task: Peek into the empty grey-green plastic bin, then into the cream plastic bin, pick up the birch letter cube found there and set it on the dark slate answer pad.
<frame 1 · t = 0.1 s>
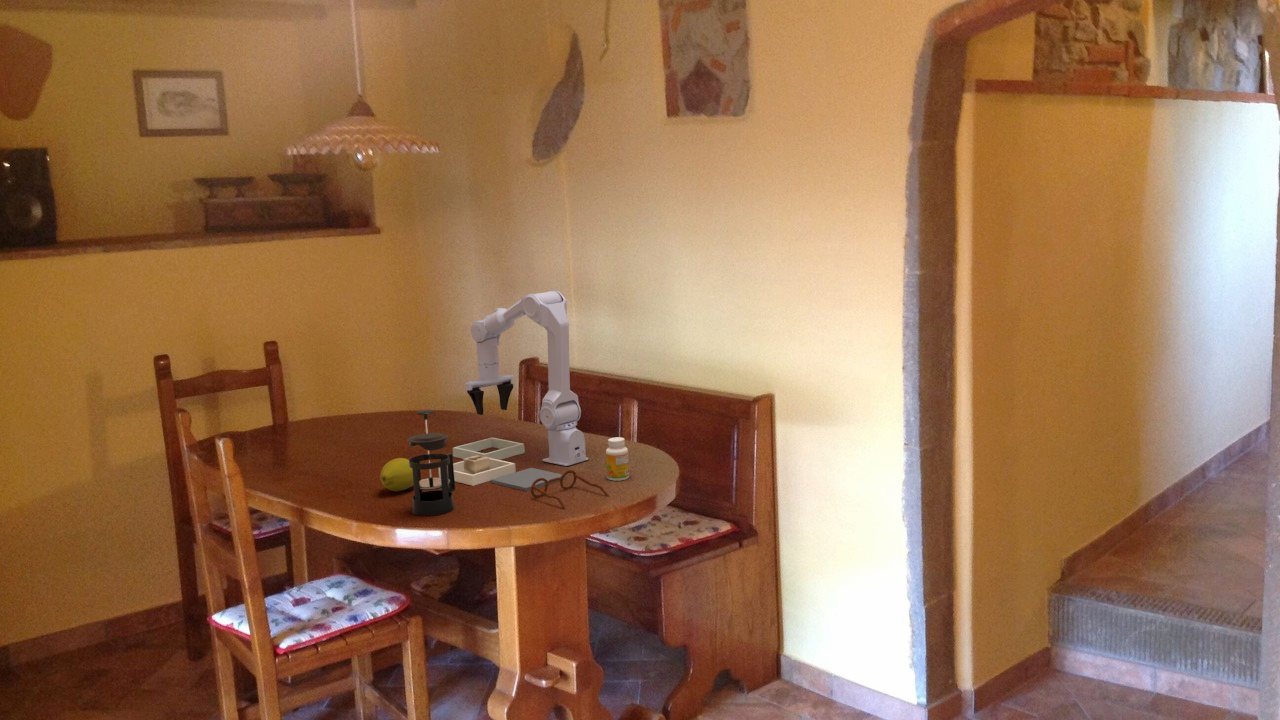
hand: (492, 411, 307), 10 cm above the table, fingers open, 7 cm apart
bin b: (477, 475, 280), on the table
french press: (435, 510, 253), on the table
letter cube: (476, 466, 280), in the bin b
bin a: (489, 454, 300), on the table
lemon: (399, 492, 269), on the table
glasses: (570, 500, 257), on the table
answer pad: (528, 480, 272), on the table
supplement bottle: (618, 478, 271), on the table
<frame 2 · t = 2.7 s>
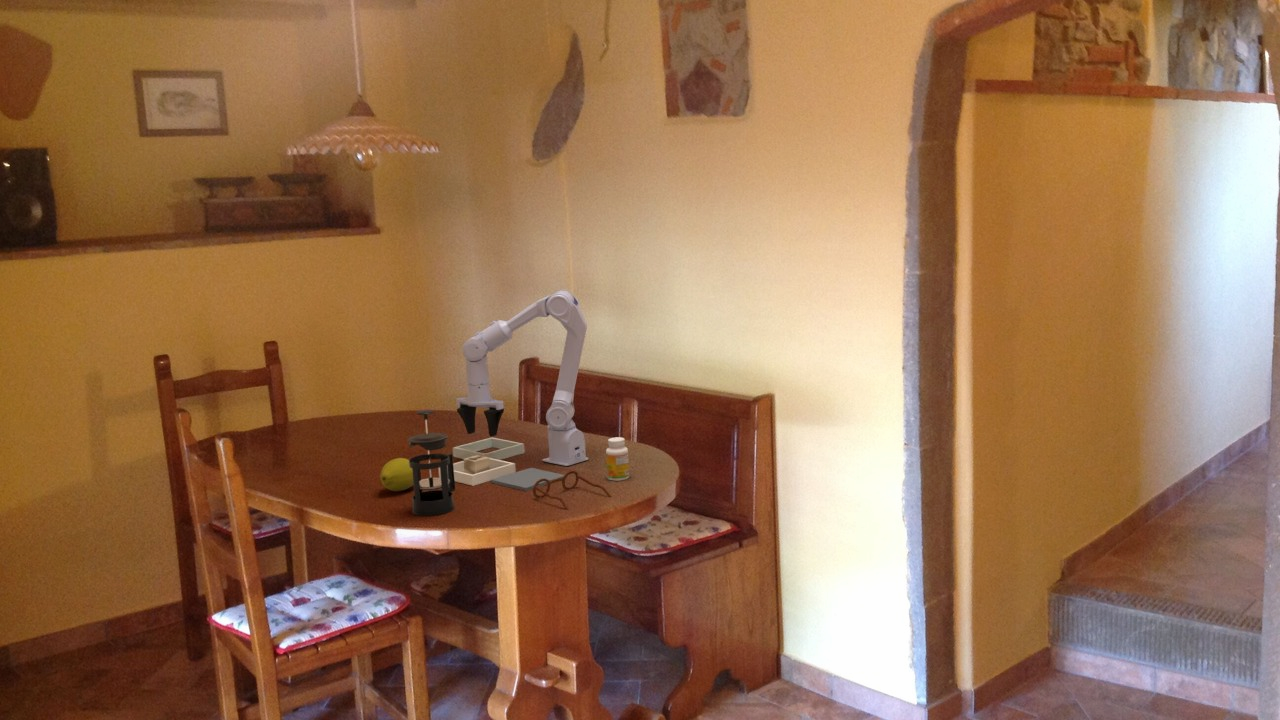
hand: (482, 434, 290), 8 cm above the table, fingers open, 7 cm apart
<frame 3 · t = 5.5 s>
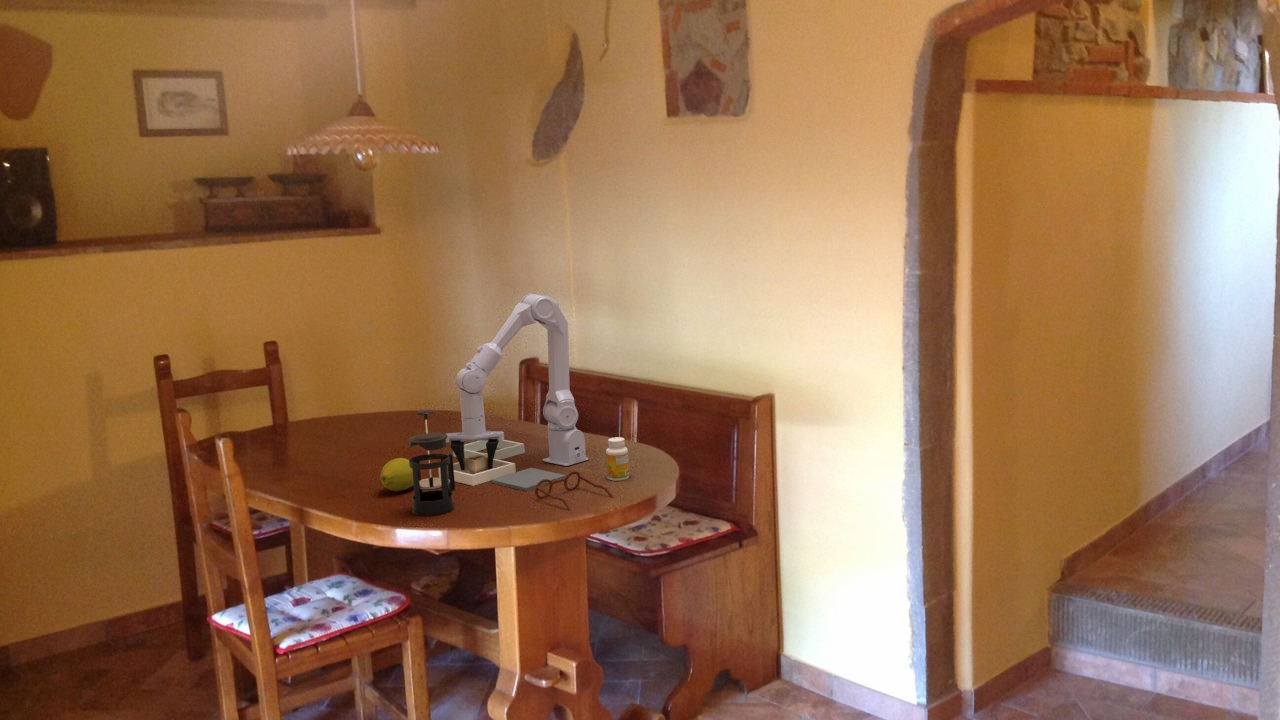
hand: (476, 469, 280), 2 cm above the table, fingers closed on letter cube, 6 cm apart
letter cube: (476, 466, 279), in the bin b, touching gripper
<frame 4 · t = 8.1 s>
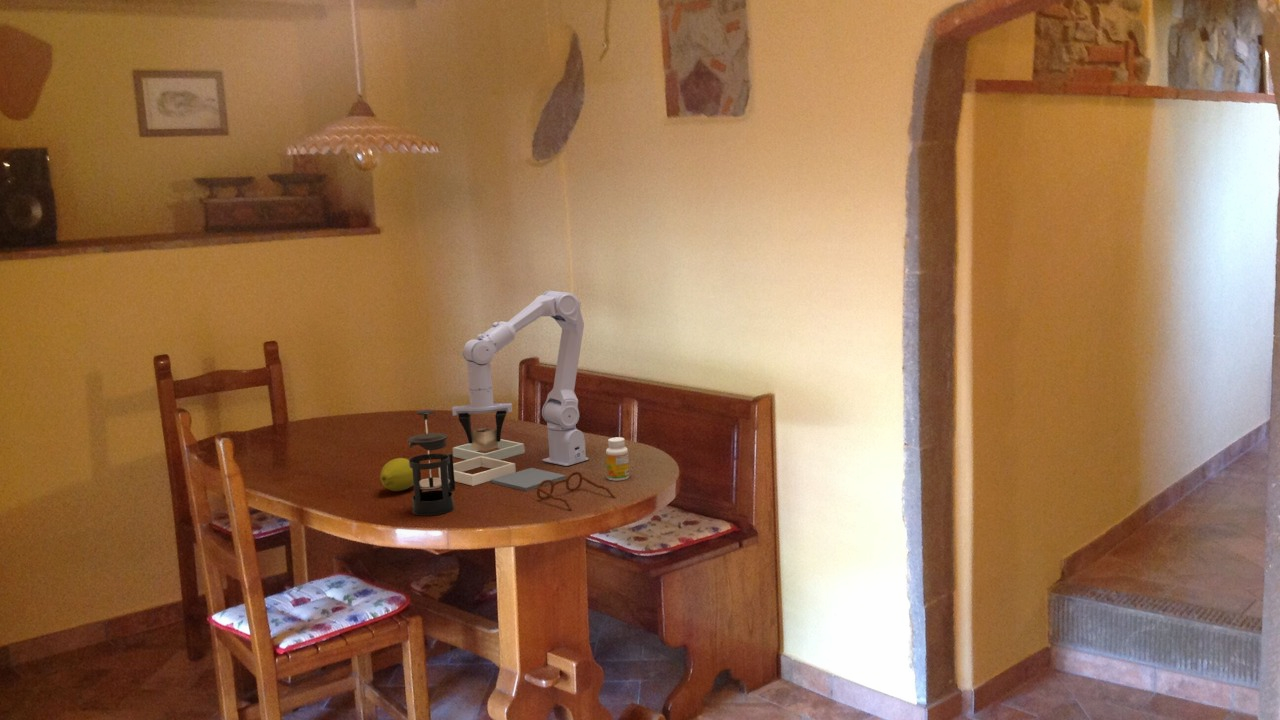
hand: (484, 441, 277), 9 cm above the table, fingers closed on letter cube, 6 cm apart
letter cube: (484, 439, 277), point 10 cm above the table, touching gripper
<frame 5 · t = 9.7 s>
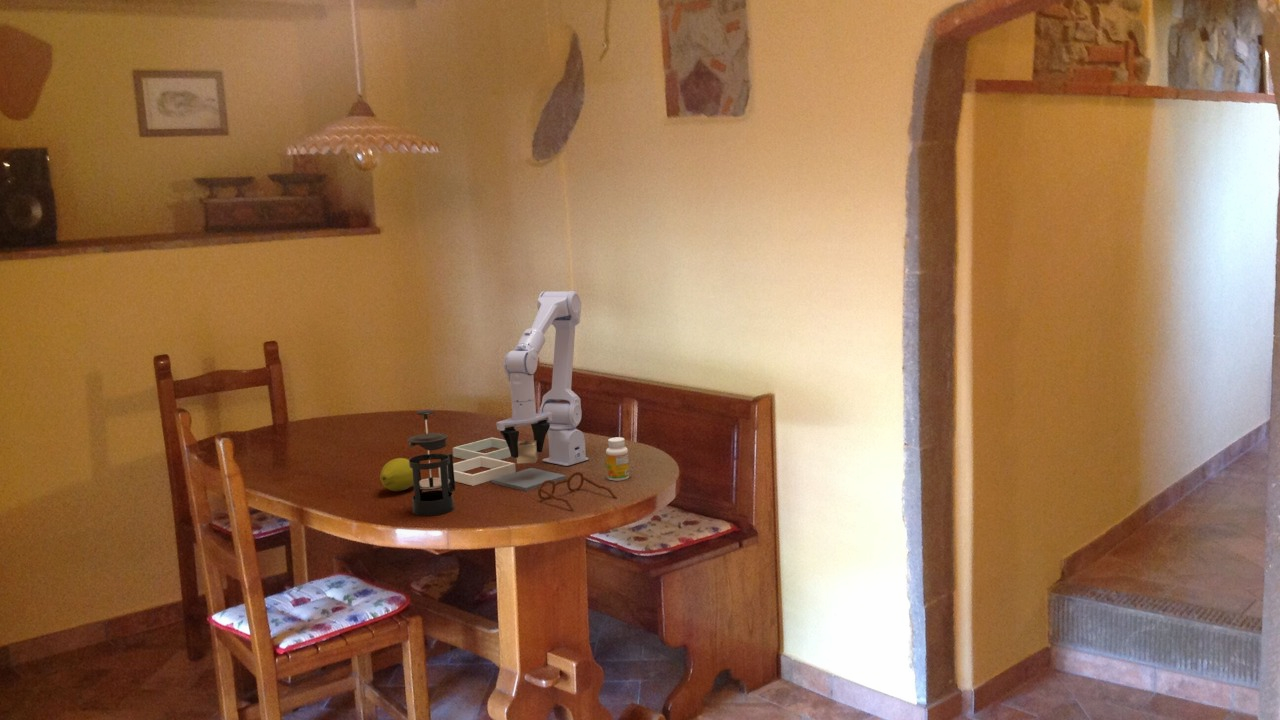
hand: (526, 454, 271), 7 cm above the table, fingers closed on letter cube, 6 cm apart
letter cube: (526, 451, 271), point 7 cm above the table, touching gripper
when the fingers open (3 cm above the table, at t = 10.9 s): letter cube stays where it is, resting on answer pad.
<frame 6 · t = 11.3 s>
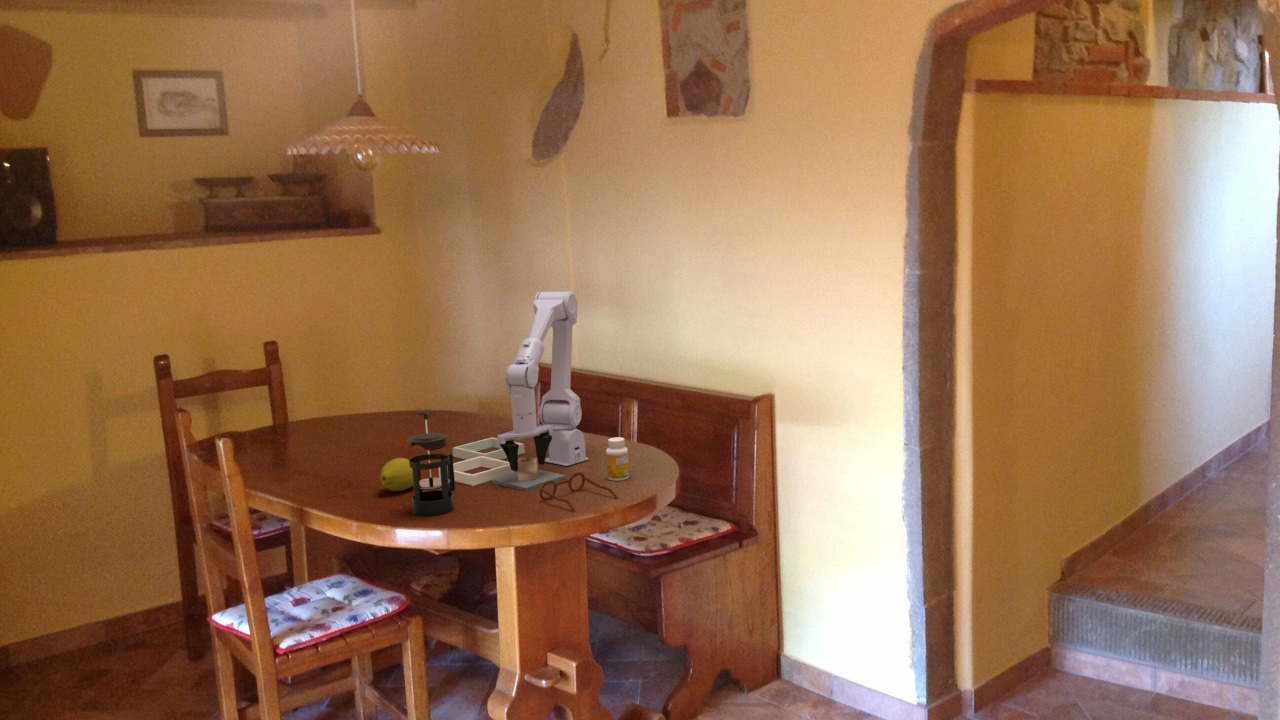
hand: (527, 467, 272), 3 cm above the table, fingers open, 7 cm apart
letter cube: (527, 468, 272), on the answer pad, point 3 cm above the table
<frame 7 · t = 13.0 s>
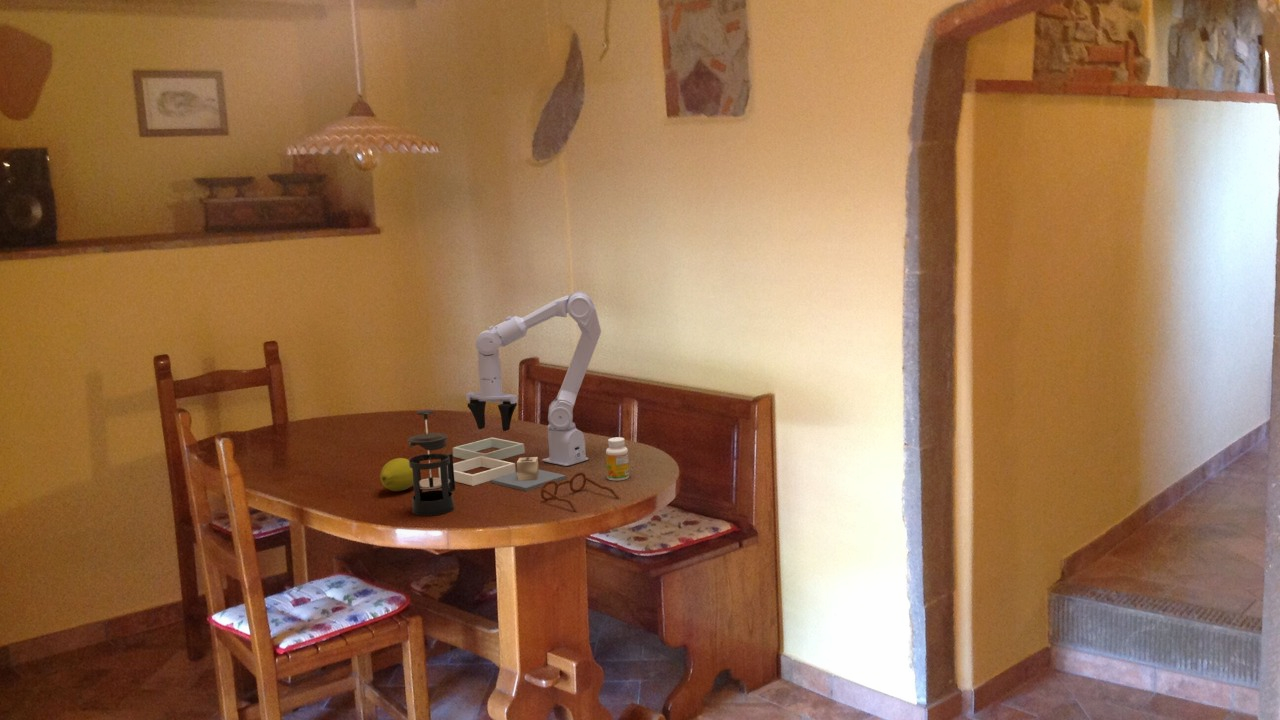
hand: (493, 429, 288), 9 cm above the table, fingers open, 7 cm apart
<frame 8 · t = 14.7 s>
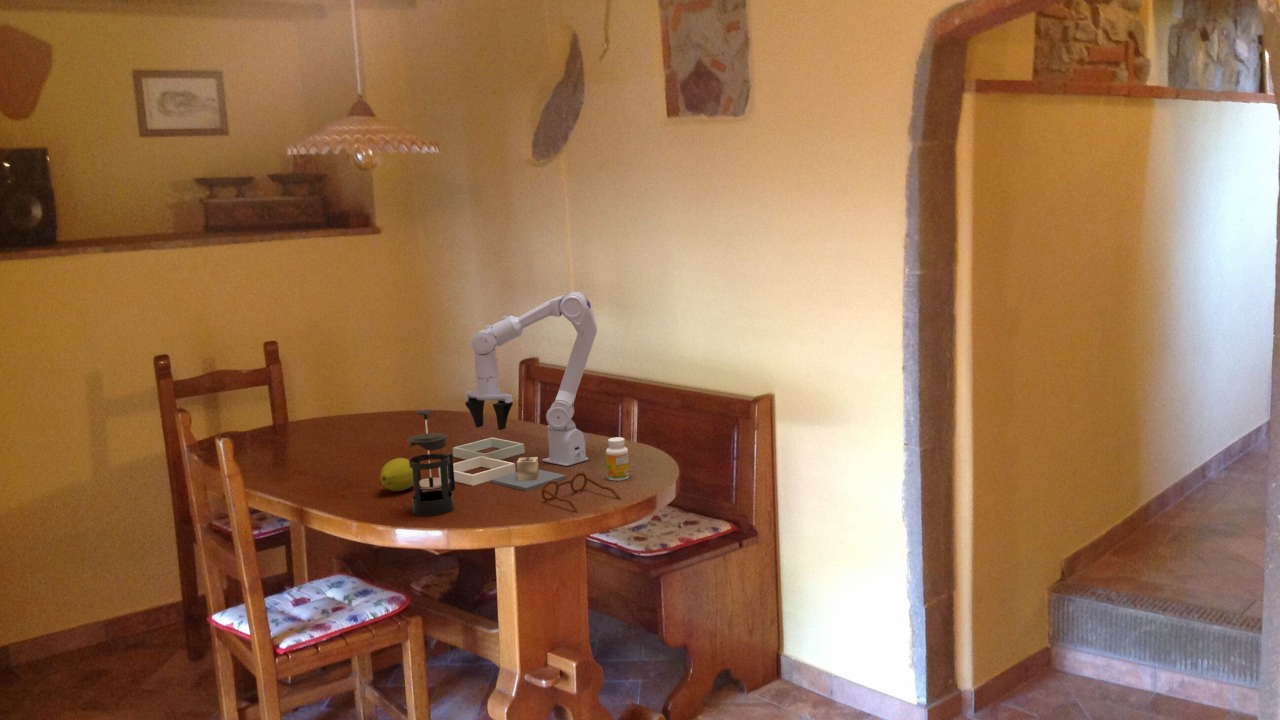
hand: (490, 427, 290), 9 cm above the table, fingers open, 7 cm apart
at the end: letter cube inside the target area on the answer pad (0.0 cm from its centre), point 3.1 cm above the answer pad's base; letter cube tilted 0°; the gripper is holding nothing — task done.
